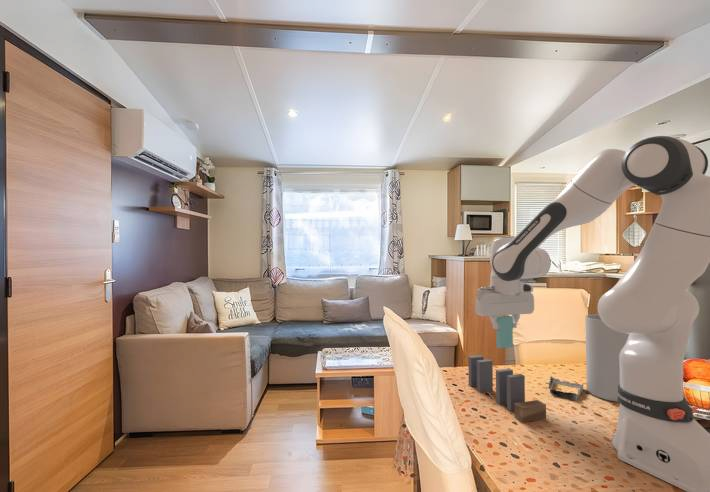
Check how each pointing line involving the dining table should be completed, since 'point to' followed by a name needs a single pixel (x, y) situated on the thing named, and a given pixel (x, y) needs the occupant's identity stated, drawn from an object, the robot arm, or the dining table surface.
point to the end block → (530, 411)
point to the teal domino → (504, 332)
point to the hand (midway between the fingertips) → (504, 328)
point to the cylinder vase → (603, 358)
